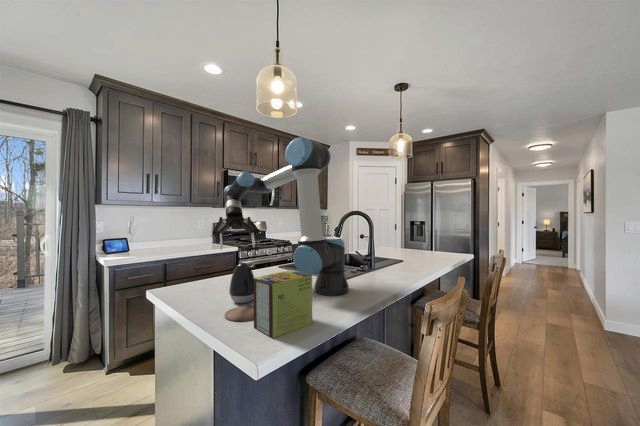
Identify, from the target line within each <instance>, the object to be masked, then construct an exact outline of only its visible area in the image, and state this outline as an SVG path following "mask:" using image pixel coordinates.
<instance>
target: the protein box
mask: <svg viewBox="0 0 640 426" xmlns="http://www.w3.org/2000/svg"><path fill="white" fill-rule="evenodd" d="M253 284H254V298H253V306H254V320H253V328H254V329H255V330H257V331H258V332H260V333H262V334H264V335H266V336H267V337H268V338H271V339H275V338H278V337H281V336H283V335H286V334H288V333H290V332H294V331H296V330H299V329H301V328H303V327H305V326H309V325H312V323H313V274H306V273H302V272H300V271H299V270H293V269H289V270H285V271H281V272H275V273H274V272H273V273H270V274H265V275H260V276H257V277H256V276H254V278H253Z"/></svg>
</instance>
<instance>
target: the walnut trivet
mask: <svg viewBox="0 0 640 426" xmlns="http://www.w3.org/2000/svg"><path fill="white" fill-rule="evenodd" d="M224 319H225V320H227V321H230V322H236V323H237V322H238V323H242V322H243V323H244V322H250V321H254V305H245V306H244V305H243V306H237V307H234V308H231V309H228V310H227V311H225V313H224Z"/></svg>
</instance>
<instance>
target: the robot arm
mask: <svg viewBox="0 0 640 426" xmlns="http://www.w3.org/2000/svg"><path fill="white" fill-rule="evenodd" d="M284 152H285V153H284V157H285V160H286V162H287V164H288V165H286V166H284V167H281V168H280V169H277V170H275V171H273V172H270V173H269V174H266V175H264V176H262V177H255V176H254V175H253V174H252V173H251V172H249V171H246V170H244V171H241V172H240V174H238V176H237V177H236V179H234V182H233V183H232V184H229V185H227V186H225V188H224V189H223V200H224V209H225V218H223V216H219V221H218V222H217V224H216V225H215V227H214V228H213V229H212V232H211V233H212V234H211V235H212V237H216V242H217V243H219V250H223V245H224V244H223V234H224V233H225V232H226V231H228V229H230V228H241V229H243V230H244V231H246V232H248V233H249V234H250V235H251V236H250V238H251V244H252V248H253V249H254V248H255V247H256V241H257V238H258V237H257V236H258V235H260V228H258V226H257V225H256V224H255V223H254V222H253V221H252V219H251V217H250V216H247V218H245V217H244V214H243V207H242V201H241V200H242V198H243V197H244V196H245V194H246V193H259V194H270V193H271V192H273V190H274V189H275V188H278V187H281V186H283V185H285V184H288V183H289V182H292V181H295V180H296V188H297V189H296V190H297V198H298V199H297V200H298V213H299V224H300V225H299V226H300V237H299V239H297V248H295V250H294V251H293V254H292V255H293V256H292V259H293V263H294V265H295V267H296V269H297V270H298V271H299V272H302V273H306V274H311V275H316V274H317V277H316V280H315V283H314V285H313V286H314V290H313V291H314V292H315V293H316V294H318V295H322V296H333V297H334V296H343V295H345V294H348V293H349V289H350V288H349V283H348V280H347V277H346V274H345V273H346V272H345V271H346V270H345V263H346V262H345V260H346V258H345V257H346V255H345V251H346V250H345V249H346V246H345V241H344V240H343V239H336V238H335V239H334V238H327V237H326V236H324V234H323V225H322V224H323V223H322V213H321V201H320V190H319V189H320V188H319V177H318V176H319V174H320V173H321V172H322V171H324V170H325V169H327V168H328V167H329V165H330V163H331V153H330V150H329V149H328V147H327V146H326V145H324V144H322V143H320V142H316V141H313V140H311V139H309V138H305V137H299V136H298V137H296V138H293V139H292V140H291V141H290V142H289V144H287V147H286V149H285V151H284ZM224 223H225V224H224ZM222 224H224V225H223V226H222ZM221 226H222V227H221Z"/></svg>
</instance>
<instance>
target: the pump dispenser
mask: <svg viewBox="0 0 640 426" xmlns="http://www.w3.org/2000/svg"><path fill="white" fill-rule="evenodd" d="M256 267H257V266H256V265H255V264H254V265H251V266H250V265H249V264H248V263H247V262H239V263H238V264H237V265H236V266H235V268H234V270H233V272H232V275H231V278H230V285H229V293H228V294H229V295H230V298H231V300H232V301H233V302H234V303H236V304H247V303H249V302H251V301H253V300H254V284H253V278H255V275H254V272H253V270H254V269H256Z"/></svg>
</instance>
